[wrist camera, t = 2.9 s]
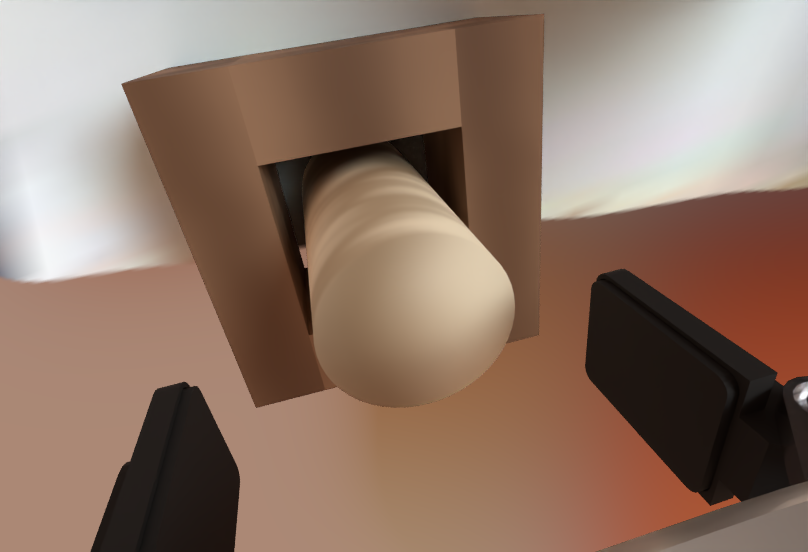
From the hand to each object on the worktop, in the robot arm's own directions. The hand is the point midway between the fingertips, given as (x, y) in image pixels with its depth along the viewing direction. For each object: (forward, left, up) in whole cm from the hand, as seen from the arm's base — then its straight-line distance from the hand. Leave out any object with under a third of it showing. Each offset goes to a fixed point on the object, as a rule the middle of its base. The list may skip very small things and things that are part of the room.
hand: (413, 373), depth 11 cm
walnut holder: (-1, 0, -13) cm, 13 cm away
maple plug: (-1, 0, -14) cm, 13 cm away
